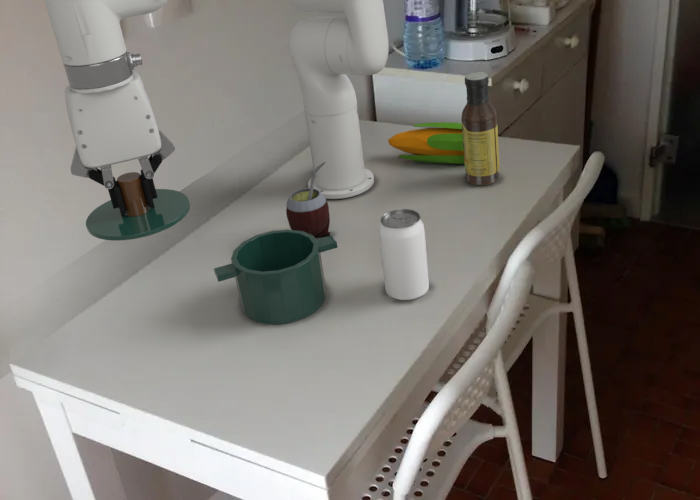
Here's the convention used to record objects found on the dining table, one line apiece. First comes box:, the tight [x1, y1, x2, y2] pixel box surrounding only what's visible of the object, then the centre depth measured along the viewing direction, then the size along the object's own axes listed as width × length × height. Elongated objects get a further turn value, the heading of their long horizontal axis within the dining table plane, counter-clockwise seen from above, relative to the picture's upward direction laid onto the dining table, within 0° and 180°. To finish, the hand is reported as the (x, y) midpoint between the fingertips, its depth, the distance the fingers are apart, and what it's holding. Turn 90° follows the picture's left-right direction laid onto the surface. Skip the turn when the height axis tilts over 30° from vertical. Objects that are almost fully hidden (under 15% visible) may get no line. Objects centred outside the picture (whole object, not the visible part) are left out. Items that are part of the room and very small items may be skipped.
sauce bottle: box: [461, 71, 501, 186], centre depth 143 cm, size 6×6×20 cm
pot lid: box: [85, 171, 191, 242], centre depth 105 cm, size 14×14×6 cm
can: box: [378, 208, 430, 302], centre depth 116 cm, size 6×6×12 cm
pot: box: [213, 229, 338, 325], centre depth 118 cm, size 13×18×8 cm
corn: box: [387, 121, 465, 165], centre depth 156 cm, size 7×8×20 cm
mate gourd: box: [285, 162, 331, 239], centre depth 132 cm, size 8×8×15 cm
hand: (136, 206), depth 106 cm, fingers closed on pot lid, 3 cm apart
